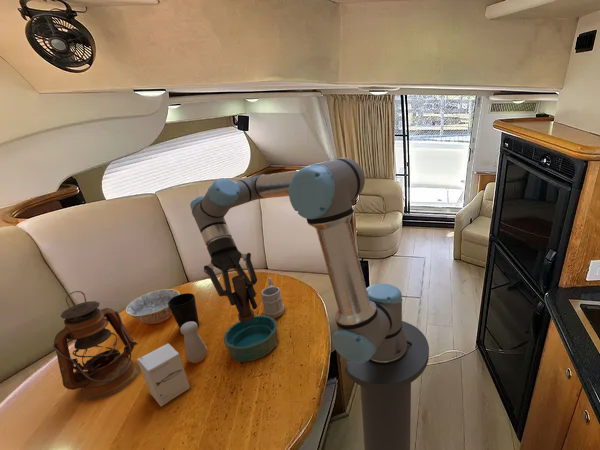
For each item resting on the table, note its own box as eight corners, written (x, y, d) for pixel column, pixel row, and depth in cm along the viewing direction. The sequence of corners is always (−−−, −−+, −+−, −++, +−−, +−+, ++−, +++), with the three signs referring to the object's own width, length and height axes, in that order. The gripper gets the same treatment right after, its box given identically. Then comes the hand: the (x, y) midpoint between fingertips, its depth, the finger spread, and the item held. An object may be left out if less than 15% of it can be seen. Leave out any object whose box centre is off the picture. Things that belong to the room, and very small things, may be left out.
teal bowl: (286, 329, 110) (283, 315, 108) (267, 364, 95) (264, 348, 93) (242, 329, 110) (239, 315, 108) (217, 363, 96) (213, 347, 94)
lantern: (126, 354, 99) (92, 272, 88) (156, 364, 96) (124, 279, 85) (59, 399, 84) (7, 306, 73) (90, 412, 81) (41, 317, 70)
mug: (263, 321, 114) (257, 293, 110) (264, 303, 124) (259, 277, 120) (285, 316, 117) (280, 289, 112) (284, 299, 127) (280, 273, 123)
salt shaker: (196, 367, 94) (185, 333, 90) (182, 362, 96) (171, 328, 91) (213, 353, 99) (203, 320, 95) (199, 349, 101) (189, 316, 96)
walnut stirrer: (257, 313, 97) (249, 274, 92) (250, 322, 93) (241, 281, 88) (243, 312, 97) (234, 273, 92) (235, 322, 93) (226, 281, 88)
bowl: (159, 334, 108) (153, 317, 105) (120, 330, 110) (113, 312, 107) (194, 307, 122) (190, 290, 120) (159, 303, 125) (154, 287, 122)
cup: (206, 325, 112) (198, 297, 108) (184, 338, 106) (174, 308, 102) (195, 318, 116) (187, 290, 112) (172, 330, 110) (163, 301, 105)
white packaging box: (160, 408, 82) (146, 371, 77) (150, 394, 86) (135, 358, 81) (191, 388, 87) (179, 353, 83) (179, 376, 91) (167, 341, 87)
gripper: (245, 240, 104) (273, 303, 99) (189, 255, 94) (217, 326, 89) (248, 229, 99) (278, 295, 94) (189, 244, 88) (218, 320, 83)
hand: (248, 310), depth 91 cm, fingers closed on walnut stirrer, 3 cm apart
